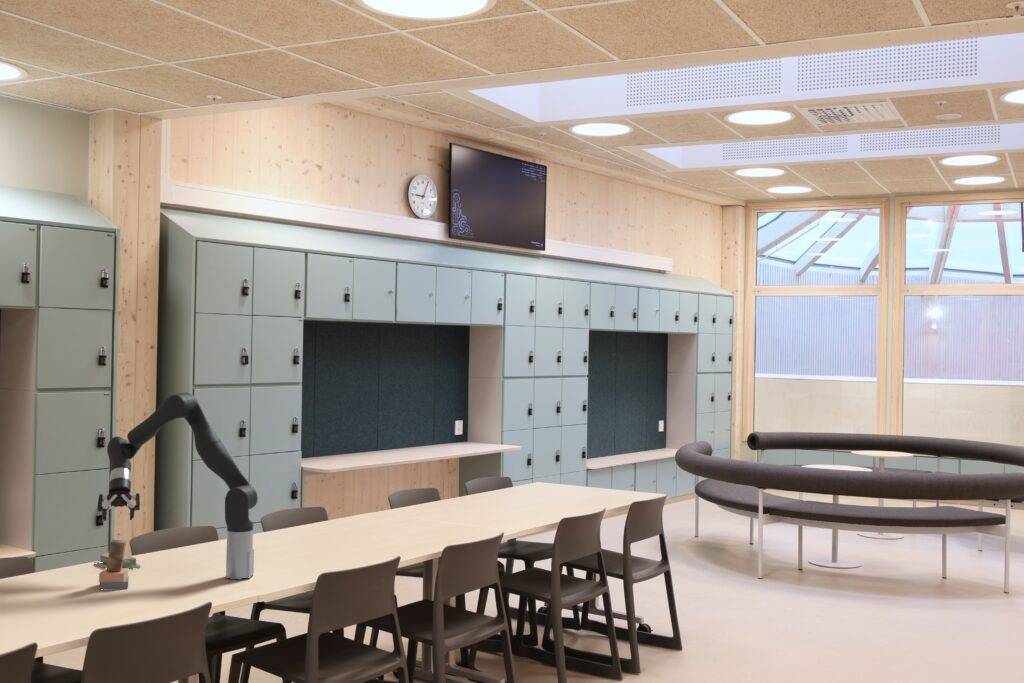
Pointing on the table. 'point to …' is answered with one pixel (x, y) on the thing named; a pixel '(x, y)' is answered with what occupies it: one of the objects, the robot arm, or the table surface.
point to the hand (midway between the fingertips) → (118, 519)
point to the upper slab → (113, 575)
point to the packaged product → (127, 561)
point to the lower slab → (114, 585)
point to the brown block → (116, 555)
